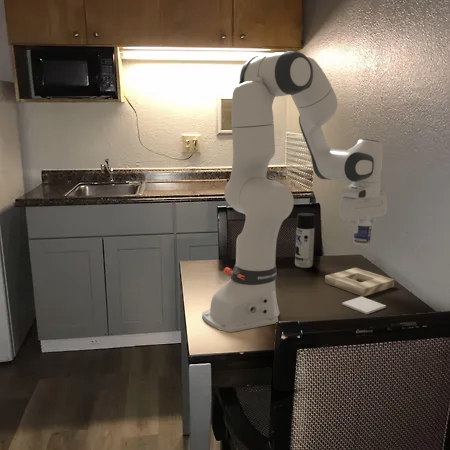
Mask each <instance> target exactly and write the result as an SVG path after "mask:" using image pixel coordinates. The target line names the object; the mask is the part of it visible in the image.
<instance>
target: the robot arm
mask: <svg viewBox="0 0 450 450" xmlns="http://www.w3.org/2000/svg"><path fill="white" fill-rule="evenodd" d="M288 95H289V96H291V99H292V101H293V103H294V105H295V106H296V108H297V111H298V115H299V116H298V124H299V128H300V131H301V133H302V136H303V140H304V141H305V144H306V147H307V149H308V152H309V155H310V158H311V164H312V168H313V171H314V173H315V175H316V177H318V178H319V179H321V180H328V181H329V180H333V181H340V182H348V183H351V184H349V185H347V186H346V187H345V188H342V189H341V191H340V196H341V197H342V198H341V199H340V203H339V213H338V215H339V219H340V220H341V221H343V222H349V223H350V225H351V227H352V231H351V232H352V233H353V234H354V233H355V234H356V233H359V230H360V228H358V225H357V223H358V220H362V219H366V218H367V216H370V220H369V221H370V222H371V224H372V226H371V232H372V231H373V228H374V225H375V223H376V221H377V218H379V217H385V216H386V214H387V212H388V198H387V195H386V194H387V192H386V191H385V189H384V188H383V187H382V188H381V183H382V180H381V172H382V169H383V160H384V159H383V158H384V157H383V156H384V152H383V145H382V143H381V142H380V141H378V140H374V139H368V138H361V139H358V140H357V143H356V144H355V145H354V146H352V147H350V148H348V149H337V148H333V147H331V146H330V145H328V143H327V140H326V136H325V134H324V131H323V129H322V126H324V125H326V124H327V123H328V122H329V121H330V120H331V119H332V118H333V117H334V116H335V114H336V112H337V109H338V98H337V95H336V93H335V91H334V88H333V86H332V84H331V82H330V81H329V79H328V76H327V75H326V74H325V72H324V71H323V69H322V67H321V66H320V65H319V64H318V62H317V61H316V60H315V59H314V58H312V57H308V56H306V55H305V54H304V53H302V52H299V51H296V50H287V51H285V52H284V51H283V52H281V51H280V52H269V53H265V54H261V55H258V56H254V57H251V58H250V59H248V60H247V61H246V62H244V64H243V66H242V68H241V71H240V74H239V83H238V85H236V87H235V88H234V90H233V92H232V99H231V115H230V116H231V117H230V119H231V122H230V123H231V135H232V153H233V154H232V156H233V157H232V167H231V172H230V178H229V180H228V181H227V183H226V184H225V187H224V192H223V193H224V199H225V201H226V203H227V204H228V205H229V206H230V207H231V208H232V209H233V210H234V211H236V212H238V213H241V214H243V215H245V220H244V225H243V228H242V230H241V233H239V234H238V235H237V237H236V242H235V243H236V244H235V245H236V246H235V249H236V250H235V263H234V266H233V268H230V267H228V266H226V267H225V268H224V269H223V273H224V275H227V276H230V279H229V280H228V281H227V282H226V283H225V284H223V286H221V287H220V288H219V290H217V291H216V292H215V293H214V294H213V296H212V297H211V301H210V309H207V310H204V311H202V315H201V316H202V319H203V321H204V322H206V323H207V324H208V325H210V326H212V327H213V328H215V329H218V330H220V331H223V332H226V333H227V332H229V333H235V332H239V331H244V330H248V329H254V328H259V327H263V326H265V327H266V326H268V325H274V324H277V323H276V322H278V323H279V316H280V310H279V306H278V299H277V292H276V291H277V289H276V280H277V274H278V273H277V267H278V266H277V265H276V255H277V240H278V235H279V232H280V228H281V226H282V224H283V222H284V220H286V219H288V218H289V216H290V215H291V214H292V211H293V209H294V205H295V204H294V201H295V200H294V199H295V198H294V196H293V193H292V192H291V190H290V188H288V187H287V186H285V185H283V184H282V183H281V182H279V181H277V180H274V179H273V180H272V179H268V177H267V175H268V172H267V171H268V169H269V164H270V163H271V162H270V161H271V160H272V159H273V157H274V156H275V153H276V147H275V146H276V145H275V143H276V142H275V125H274V124H275V123H274V112H273V104H274V100H275V99H276V97H277V98H278V97H284V96H288Z"/></svg>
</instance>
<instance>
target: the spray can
mask: <svg viewBox="0 0 450 450" xmlns="http://www.w3.org/2000/svg"><path fill="white" fill-rule="evenodd" d="M296 218H297V219H296V234H295V257H294V258H295V259H294V264H295V265H294V266H296V267H297V268H302V269H309V268H312V267H313V263H314V262H313V261H314V247H315V246H314V245H315V227H316V226H315V225H316V224H315V223H316V214H315V213H311V212H299V213H297V215H296Z"/></svg>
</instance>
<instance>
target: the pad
mask: <svg viewBox="0 0 450 450" xmlns="http://www.w3.org/2000/svg"><path fill="white" fill-rule="evenodd" d="M341 305H342V306H345V307H348V308H350V309H353V310H354V311H357V312H358V313H359V312H360V313H362V314H364V315H369V314H371V313H374V312H377V311H380V310H383V309H385V308H386V307H387V305H386V304H382V303H380V302H377V301H375V300H372V299H369V298H366V297H365V296H364V297H362V296H358V297H355V298H352V299H349V300H346V301H344V302H341Z"/></svg>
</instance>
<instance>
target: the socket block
mask: <svg viewBox="0 0 450 450" xmlns="http://www.w3.org/2000/svg"><path fill="white" fill-rule="evenodd" d="M324 283H325V284H328V285H331V286H333V287H336V288H338V289H341V290H343V291H346V292H348V293H349V292H350V293H352V294H355V295H357V296H359V297H361V296H362V297H364V298H365V297H367V296H369V295H372V294H376V293H379V292H382V291H386V290H388V289H391V288H394V286H395V279H394V278H390V277H387V276H385V275H380V274H378V273H374V272H372V271H368V270H364V269H361V268H359V267H352V268H350V269H349V268H348V269H346V270H342V271H338V272H335V273H330V274H327V275H325V276H324Z"/></svg>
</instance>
